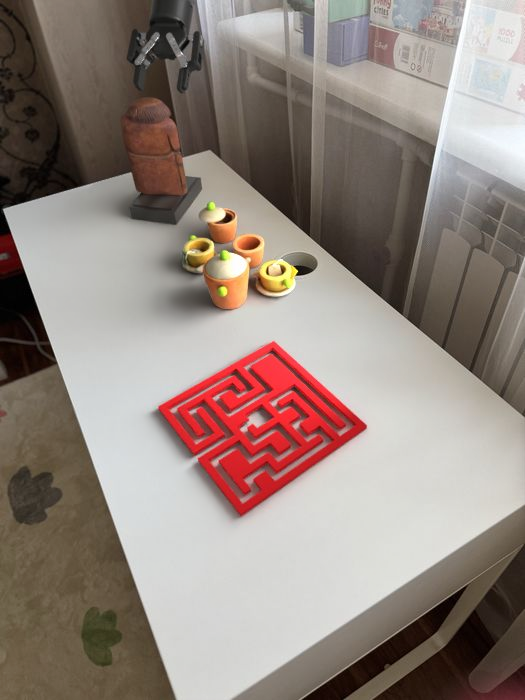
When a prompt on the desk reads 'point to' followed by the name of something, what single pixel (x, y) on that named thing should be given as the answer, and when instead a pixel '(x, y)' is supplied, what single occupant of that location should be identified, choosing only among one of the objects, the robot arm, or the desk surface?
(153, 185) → the wooden figurine
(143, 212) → the block
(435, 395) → the desk surface
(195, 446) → the maze puzzle
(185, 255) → the toy tea set
